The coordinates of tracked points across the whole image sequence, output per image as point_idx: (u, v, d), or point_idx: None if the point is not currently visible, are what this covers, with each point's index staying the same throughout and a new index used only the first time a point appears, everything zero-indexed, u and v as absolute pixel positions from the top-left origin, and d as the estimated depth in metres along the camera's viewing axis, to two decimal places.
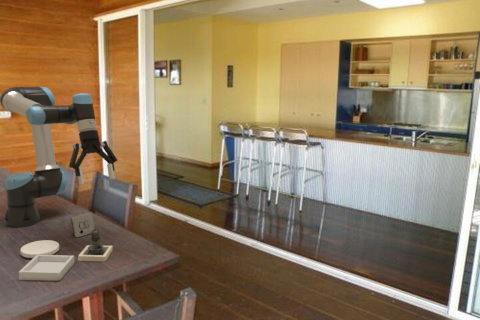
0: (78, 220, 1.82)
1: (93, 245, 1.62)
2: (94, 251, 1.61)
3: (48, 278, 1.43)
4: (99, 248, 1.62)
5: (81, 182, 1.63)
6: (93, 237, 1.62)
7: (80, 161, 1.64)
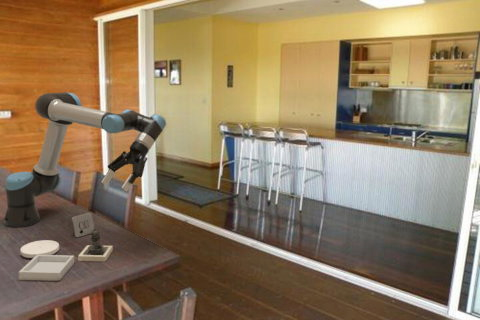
0: (78, 220, 1.82)
1: (93, 245, 1.62)
2: (94, 251, 1.61)
3: (48, 278, 1.43)
4: (99, 248, 1.62)
5: (126, 189, 1.63)
6: (93, 237, 1.62)
7: None
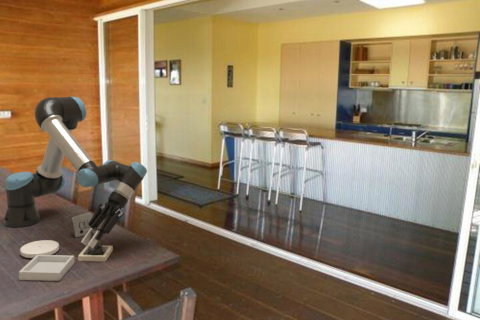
0: (78, 220, 1.82)
1: None
2: (94, 251, 1.61)
3: (48, 278, 1.43)
4: (99, 248, 1.62)
5: (92, 246, 1.60)
6: None
7: None
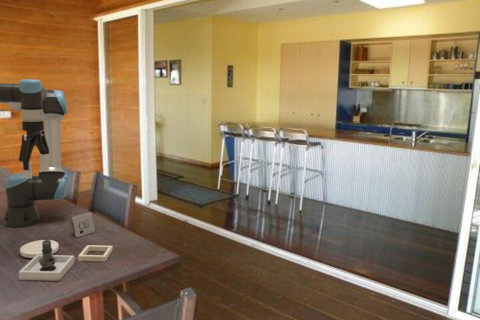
0: (78, 220, 1.82)
1: (44, 258, 1.48)
2: (45, 264, 1.47)
3: (48, 278, 1.43)
4: (51, 261, 1.48)
5: (29, 176, 1.55)
6: (44, 249, 1.47)
7: (30, 154, 1.54)
